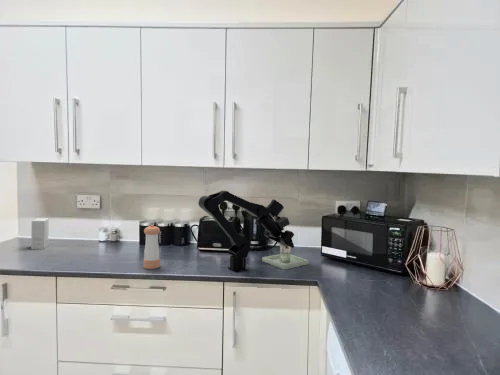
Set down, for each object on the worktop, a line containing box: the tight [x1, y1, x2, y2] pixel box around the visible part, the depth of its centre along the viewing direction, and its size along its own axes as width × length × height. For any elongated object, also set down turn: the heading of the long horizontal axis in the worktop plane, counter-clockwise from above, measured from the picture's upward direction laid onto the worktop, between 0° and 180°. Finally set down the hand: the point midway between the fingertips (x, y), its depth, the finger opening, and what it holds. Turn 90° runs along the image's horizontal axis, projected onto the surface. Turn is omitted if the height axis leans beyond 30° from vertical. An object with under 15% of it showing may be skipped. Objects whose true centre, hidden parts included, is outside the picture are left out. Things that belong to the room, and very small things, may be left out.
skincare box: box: [30, 217, 49, 250], centre depth 181 cm, size 8×7×16 cm
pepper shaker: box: [143, 224, 161, 270], centre depth 151 cm, size 7×7×19 cm
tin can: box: [279, 241, 292, 263], centre depth 163 cm, size 5×5×11 cm
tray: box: [261, 253, 310, 270], centre depth 163 cm, size 16×16×2 cm
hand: (287, 245), depth 163 cm, fingers open, 9 cm apart
